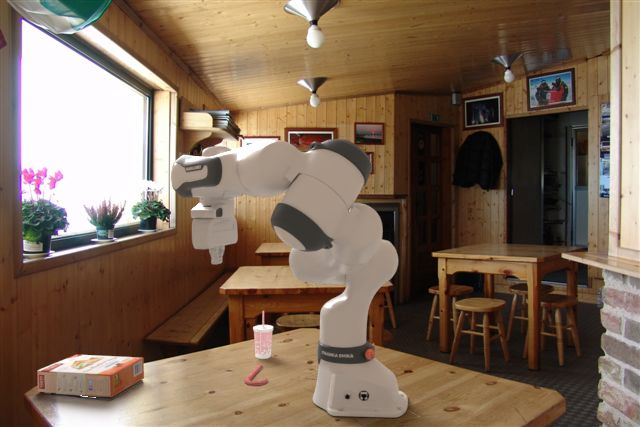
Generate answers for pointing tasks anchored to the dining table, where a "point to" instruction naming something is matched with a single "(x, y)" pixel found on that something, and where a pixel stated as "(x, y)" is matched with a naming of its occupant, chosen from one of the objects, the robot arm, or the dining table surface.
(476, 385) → the dining table surface
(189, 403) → the dining table surface
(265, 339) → the beverage cup
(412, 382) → the dining table surface
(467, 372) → the dining table surface
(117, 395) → the rubber mat
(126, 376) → the cracker box
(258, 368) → the candy cane
